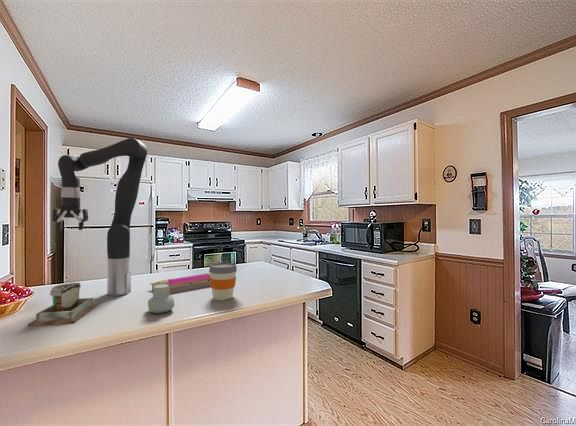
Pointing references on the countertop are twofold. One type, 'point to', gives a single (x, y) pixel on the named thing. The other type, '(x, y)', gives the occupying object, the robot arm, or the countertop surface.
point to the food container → (65, 297)
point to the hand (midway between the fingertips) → (70, 230)
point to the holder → (64, 314)
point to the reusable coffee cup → (222, 280)
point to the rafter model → (197, 280)
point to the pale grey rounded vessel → (160, 299)
